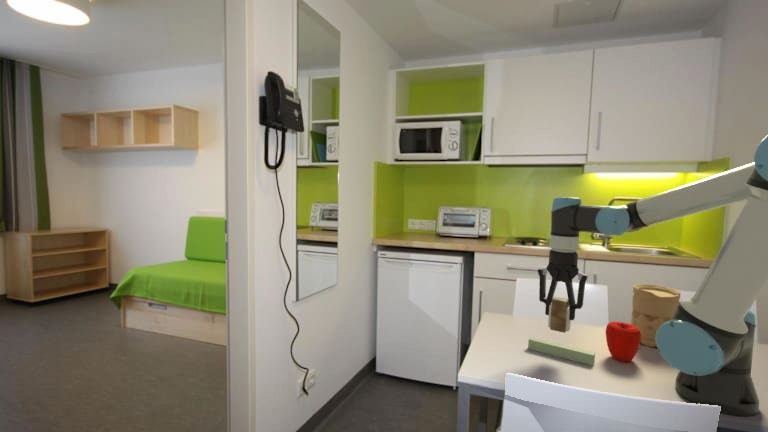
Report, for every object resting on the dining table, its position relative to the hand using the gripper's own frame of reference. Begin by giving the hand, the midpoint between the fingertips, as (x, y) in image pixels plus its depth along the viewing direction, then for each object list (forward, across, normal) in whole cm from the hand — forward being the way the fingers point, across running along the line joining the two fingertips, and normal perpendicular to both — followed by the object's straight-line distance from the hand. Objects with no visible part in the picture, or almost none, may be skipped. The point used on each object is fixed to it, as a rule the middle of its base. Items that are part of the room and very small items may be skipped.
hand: (559, 327), depth 110 cm
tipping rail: (+9, 0, -2) cm, 9 cm away
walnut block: (0, 0, 0) cm, 0 cm away
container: (+9, -22, -34) cm, 41 cm away
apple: (+9, -15, -12) cm, 21 cm away
